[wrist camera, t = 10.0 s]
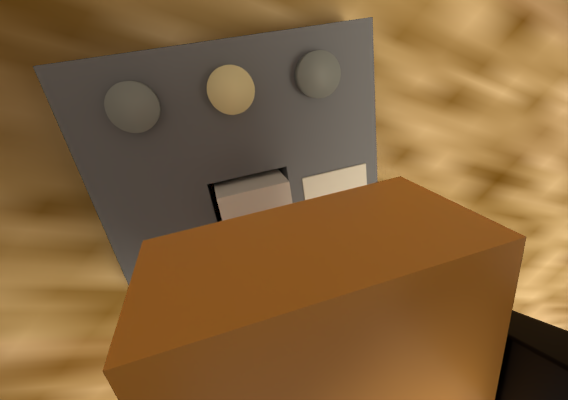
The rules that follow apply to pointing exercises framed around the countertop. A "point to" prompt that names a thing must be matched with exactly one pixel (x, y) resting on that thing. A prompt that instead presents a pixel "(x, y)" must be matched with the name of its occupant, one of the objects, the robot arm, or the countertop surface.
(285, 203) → the breaker button
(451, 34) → the countertop surface
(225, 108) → the panel
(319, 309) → the cap
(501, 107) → the countertop surface
